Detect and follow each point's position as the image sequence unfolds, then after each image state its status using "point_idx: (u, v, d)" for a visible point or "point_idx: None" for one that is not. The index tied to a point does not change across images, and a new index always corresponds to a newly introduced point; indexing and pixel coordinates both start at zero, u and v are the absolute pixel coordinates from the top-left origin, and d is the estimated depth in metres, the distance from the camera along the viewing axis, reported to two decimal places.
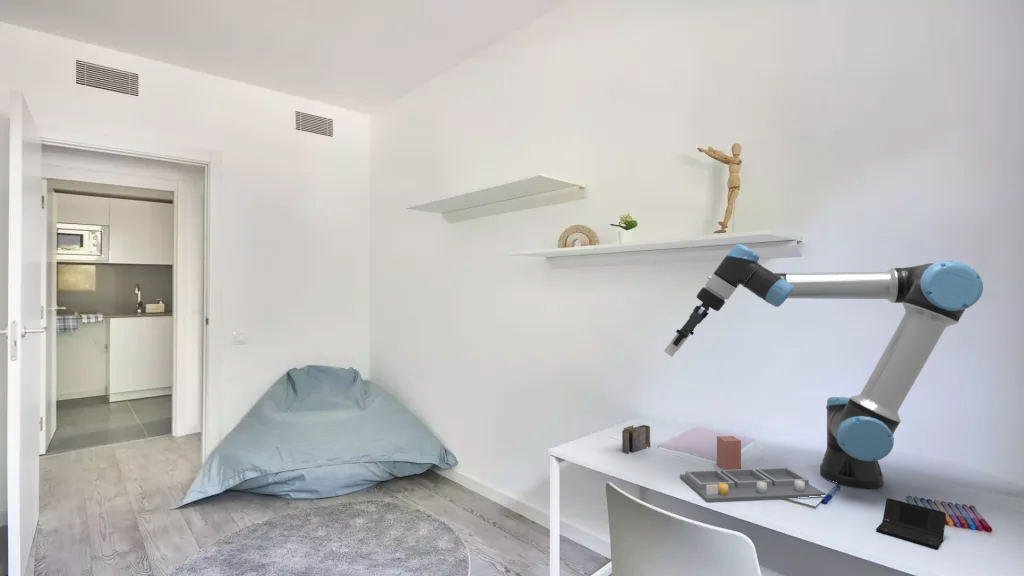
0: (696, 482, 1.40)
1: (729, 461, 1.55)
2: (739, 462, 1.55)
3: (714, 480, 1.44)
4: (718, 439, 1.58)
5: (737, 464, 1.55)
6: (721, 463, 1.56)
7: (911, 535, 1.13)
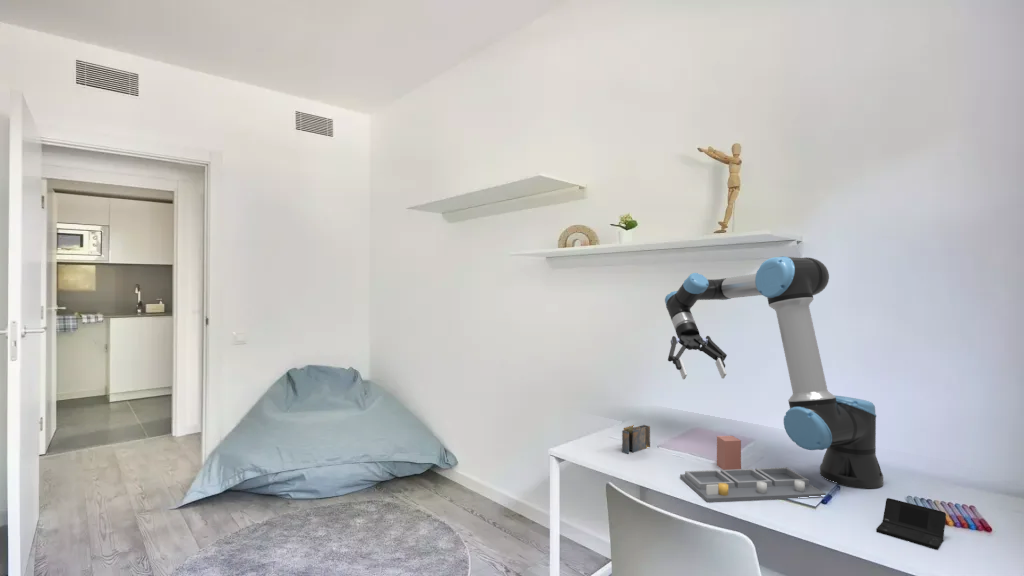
0: (696, 482, 1.40)
1: (729, 461, 1.55)
2: (739, 462, 1.55)
3: (714, 480, 1.44)
4: (718, 439, 1.58)
5: (737, 464, 1.55)
6: (721, 463, 1.56)
7: (911, 535, 1.13)
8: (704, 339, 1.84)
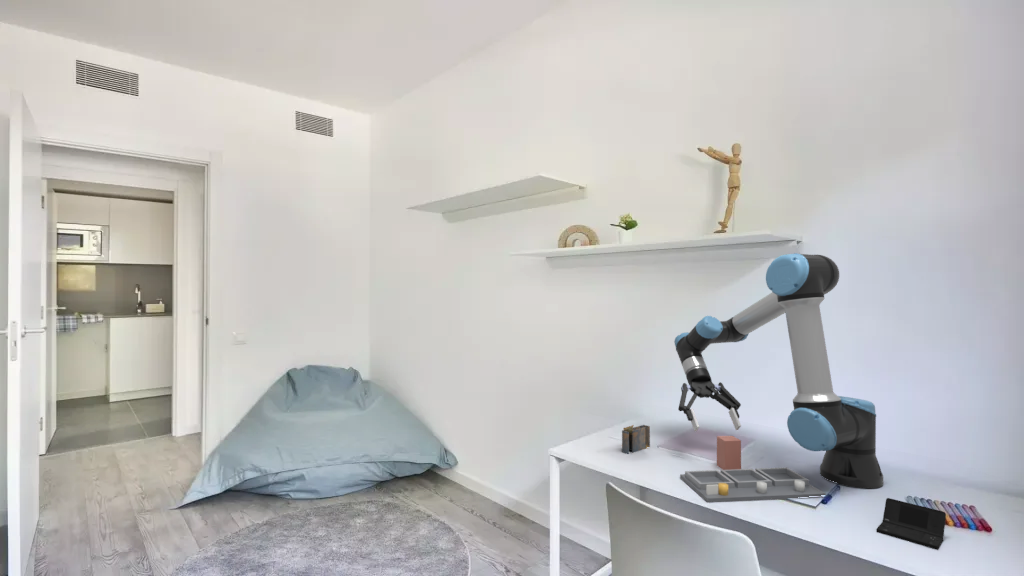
0: (696, 482, 1.40)
1: (729, 461, 1.55)
2: (739, 462, 1.55)
3: (714, 480, 1.44)
4: (718, 439, 1.58)
5: (737, 464, 1.55)
6: (721, 463, 1.56)
7: (911, 535, 1.13)
8: (716, 386, 1.74)
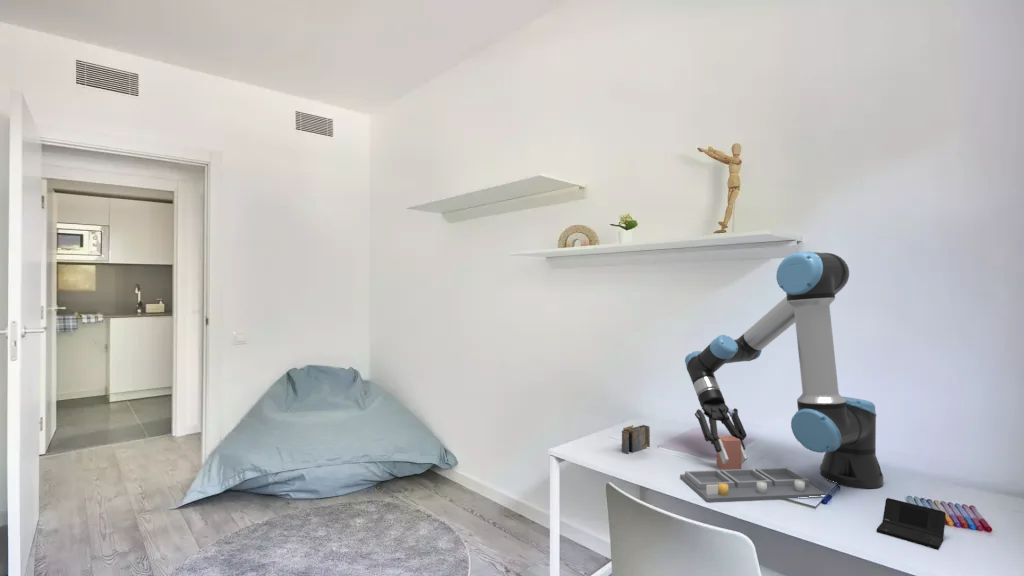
0: (696, 482, 1.40)
1: (729, 461, 1.55)
2: (739, 462, 1.55)
3: (714, 480, 1.44)
4: None
5: (737, 464, 1.55)
6: (721, 463, 1.56)
7: (911, 535, 1.13)
8: (730, 411, 1.65)
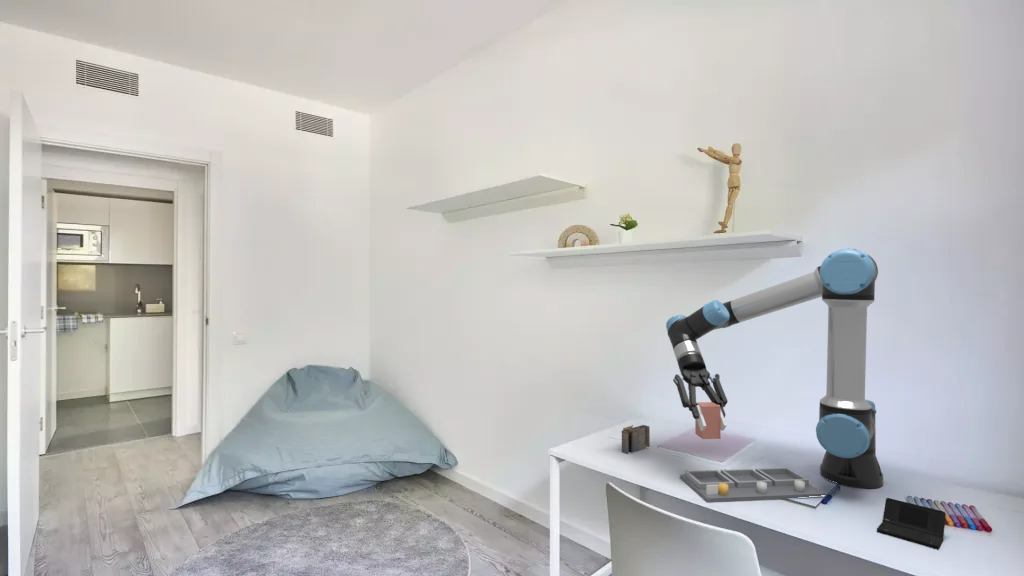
0: (696, 482, 1.40)
1: (707, 429, 1.43)
2: (718, 430, 1.44)
3: (714, 480, 1.44)
4: (696, 405, 1.47)
5: (717, 431, 1.44)
6: (700, 431, 1.45)
7: (912, 535, 1.13)
8: (712, 376, 1.54)
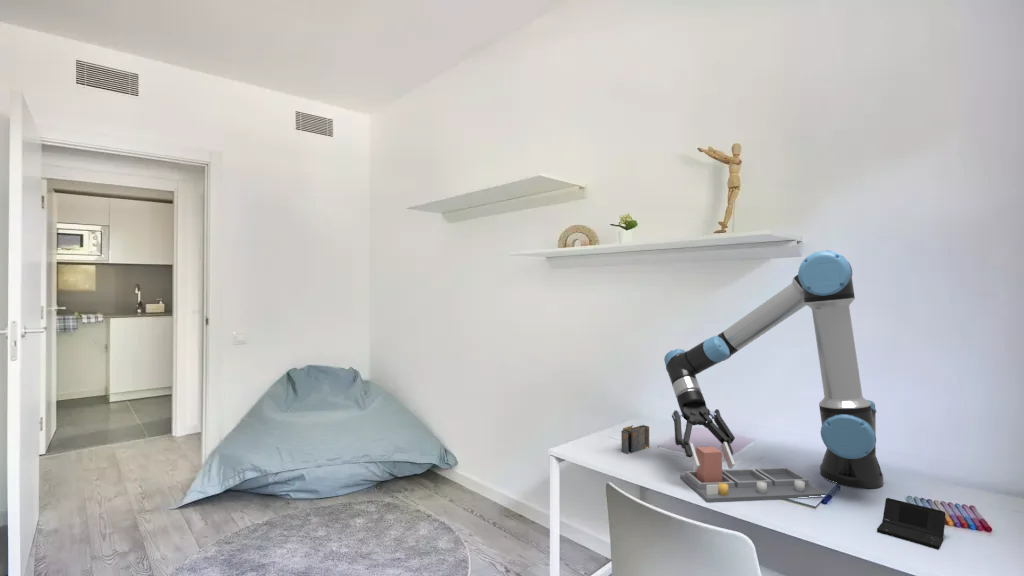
0: (696, 482, 1.40)
1: (708, 475, 1.41)
2: (720, 476, 1.41)
3: None
4: (697, 450, 1.45)
5: (718, 478, 1.41)
6: (701, 477, 1.42)
7: (912, 535, 1.13)
8: (712, 413, 1.52)
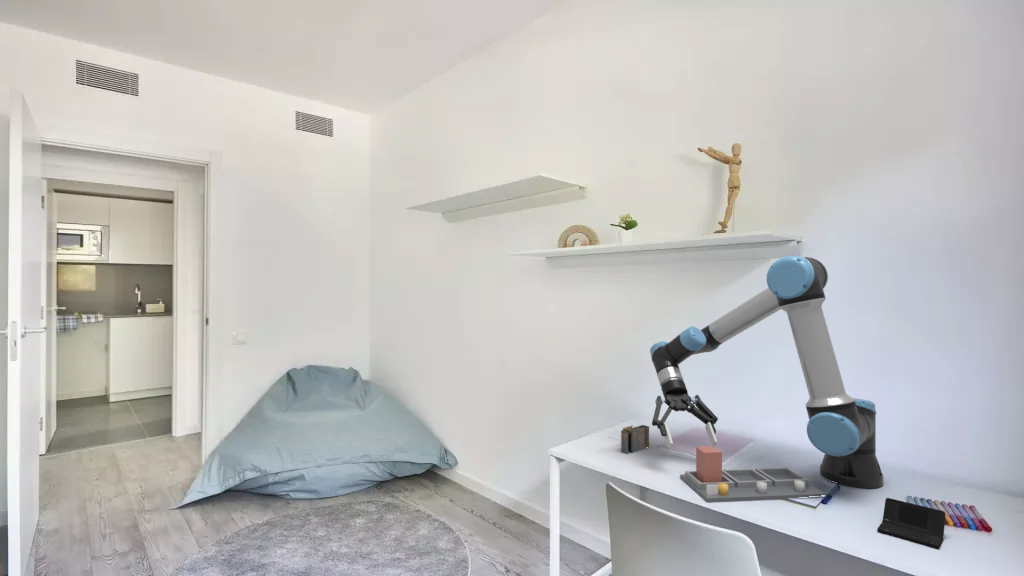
0: (696, 482, 1.40)
1: (708, 475, 1.41)
2: (720, 476, 1.41)
3: None
4: (697, 450, 1.45)
5: (718, 478, 1.41)
6: (701, 477, 1.42)
7: (912, 535, 1.13)
8: (693, 399, 1.64)
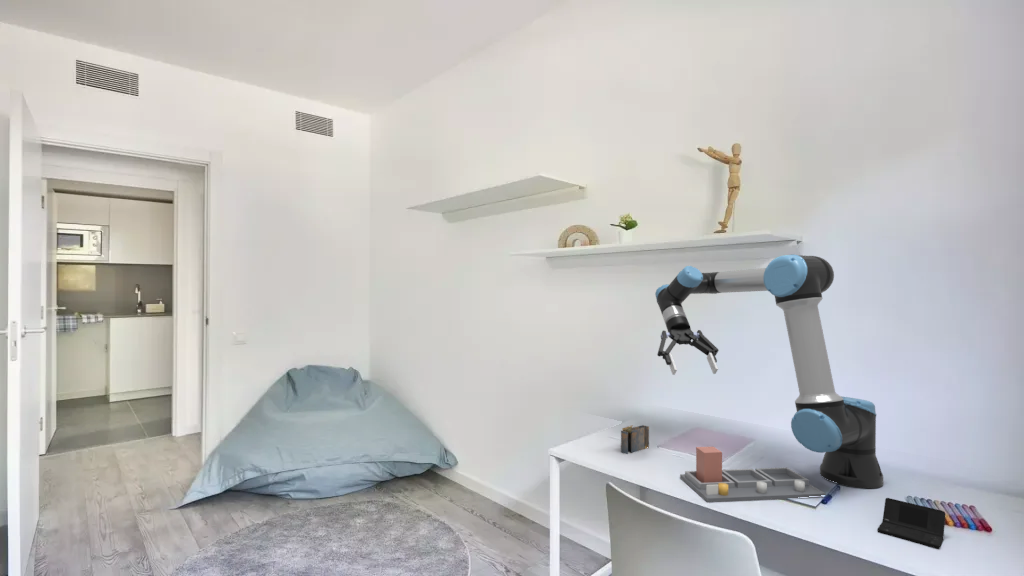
0: (696, 482, 1.40)
1: (708, 475, 1.41)
2: (720, 476, 1.41)
3: None
4: (697, 450, 1.45)
5: (718, 478, 1.41)
6: (701, 477, 1.42)
7: (912, 535, 1.13)
8: (695, 333, 1.77)
